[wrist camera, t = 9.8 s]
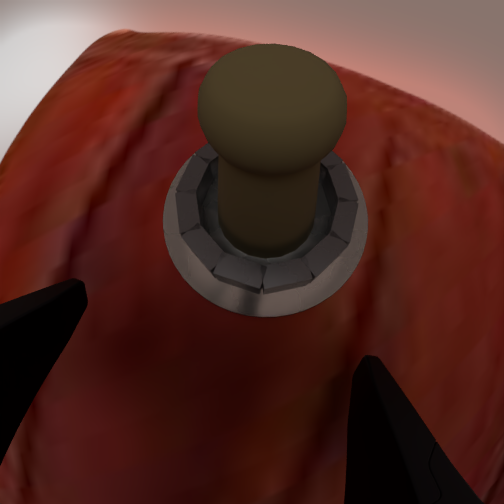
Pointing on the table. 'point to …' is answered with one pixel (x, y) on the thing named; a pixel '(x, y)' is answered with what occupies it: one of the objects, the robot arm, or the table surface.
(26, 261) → the table surface
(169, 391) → the table surface
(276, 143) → the cork
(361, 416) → the robot arm
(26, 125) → the table surface
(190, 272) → the iron collar
